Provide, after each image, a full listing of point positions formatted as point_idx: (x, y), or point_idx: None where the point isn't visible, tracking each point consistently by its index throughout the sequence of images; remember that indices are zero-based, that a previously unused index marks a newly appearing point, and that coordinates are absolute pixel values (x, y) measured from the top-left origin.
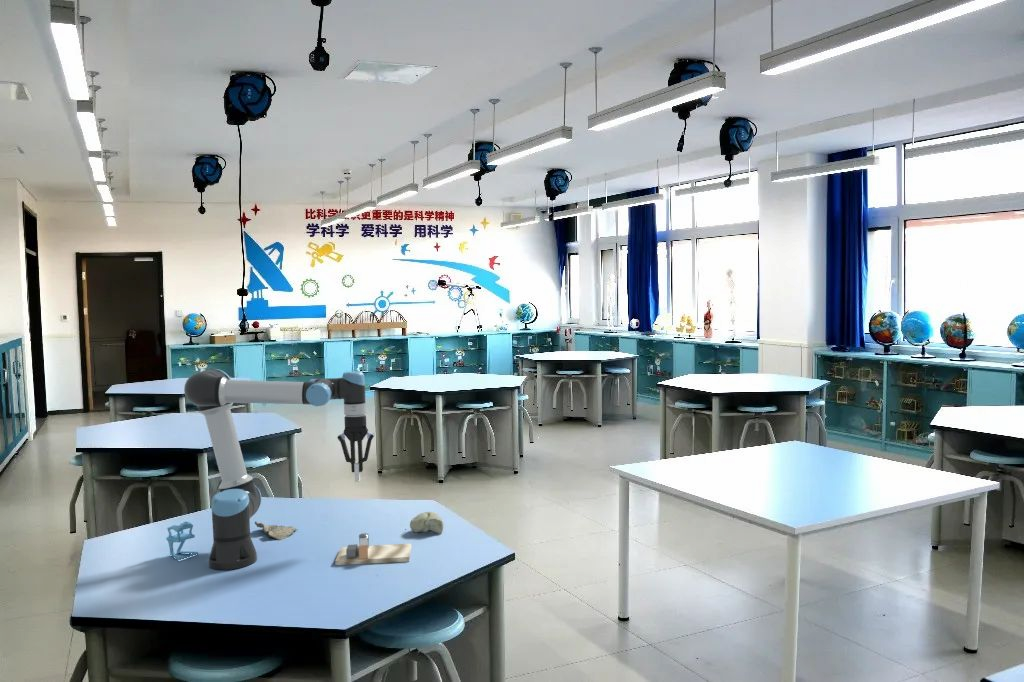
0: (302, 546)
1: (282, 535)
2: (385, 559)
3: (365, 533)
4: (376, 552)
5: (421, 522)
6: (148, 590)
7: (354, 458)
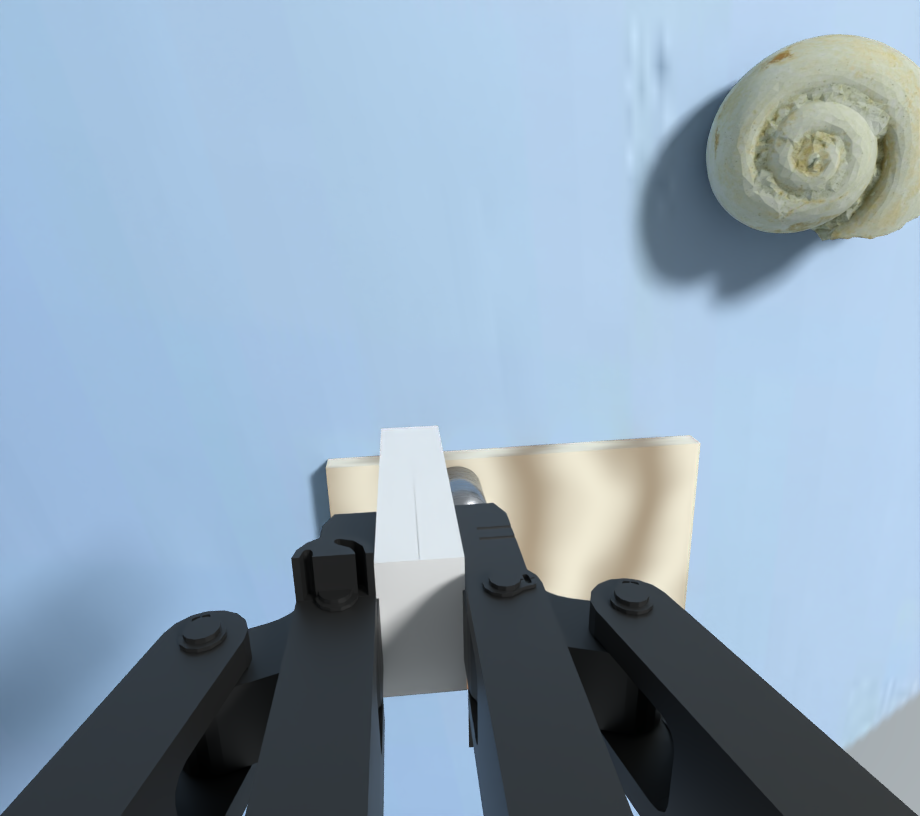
0: (57, 357)
1: None
2: None
3: (470, 500)
4: (529, 561)
5: (804, 229)
6: None
7: (382, 762)
